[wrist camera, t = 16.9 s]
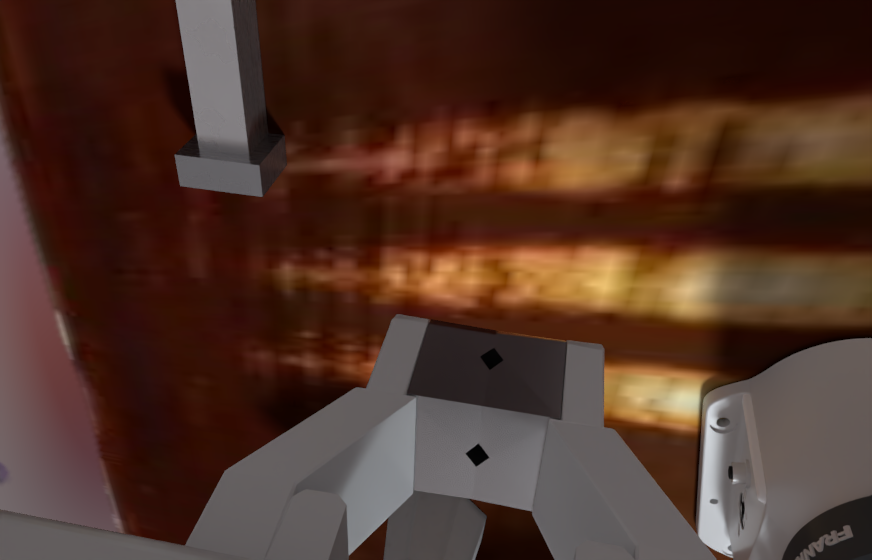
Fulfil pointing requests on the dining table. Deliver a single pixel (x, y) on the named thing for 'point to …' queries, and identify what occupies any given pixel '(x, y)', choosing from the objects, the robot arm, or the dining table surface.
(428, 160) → the dining table surface
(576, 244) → the dining table surface
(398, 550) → the coffee maker
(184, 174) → the slide rail
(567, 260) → the dining table surface
